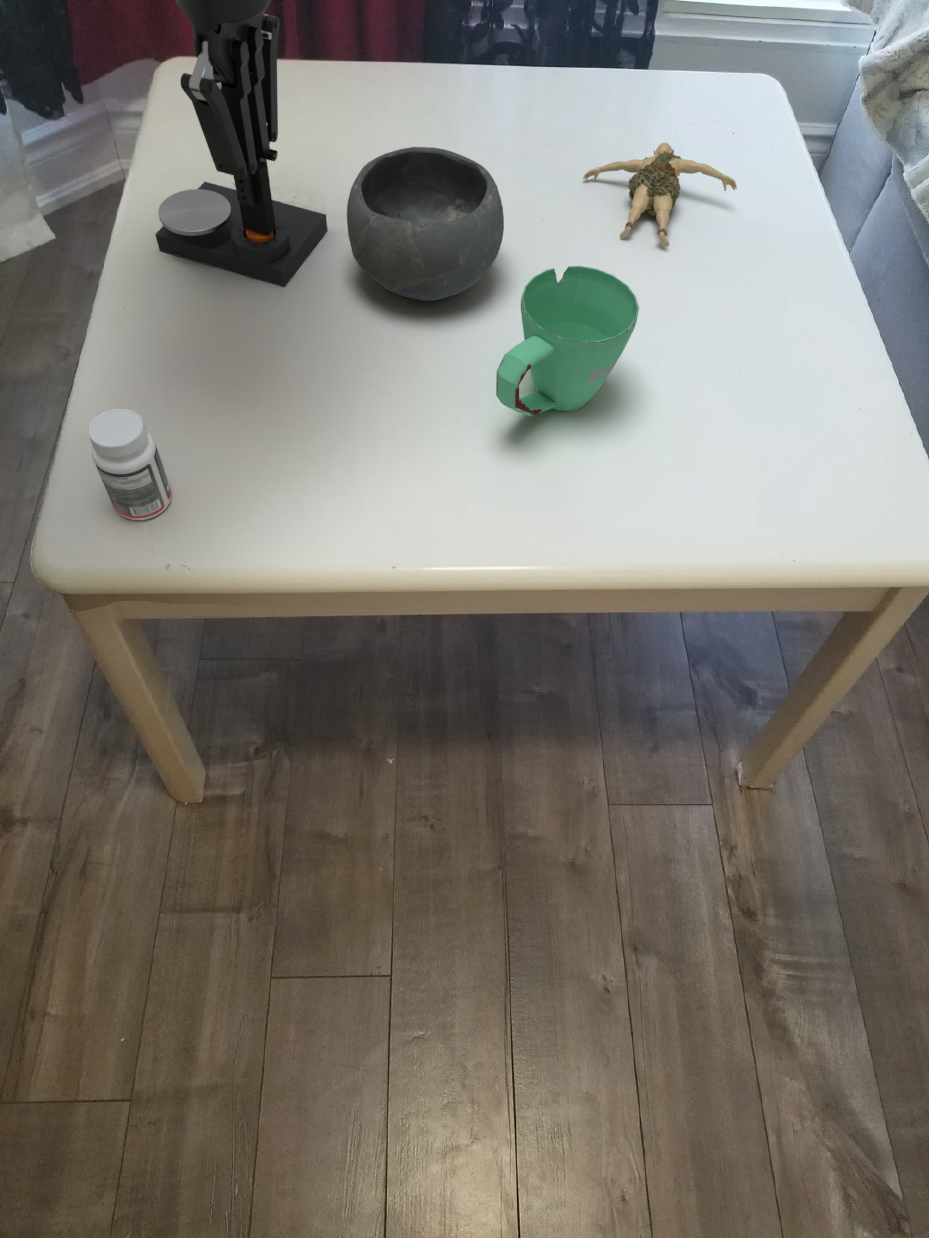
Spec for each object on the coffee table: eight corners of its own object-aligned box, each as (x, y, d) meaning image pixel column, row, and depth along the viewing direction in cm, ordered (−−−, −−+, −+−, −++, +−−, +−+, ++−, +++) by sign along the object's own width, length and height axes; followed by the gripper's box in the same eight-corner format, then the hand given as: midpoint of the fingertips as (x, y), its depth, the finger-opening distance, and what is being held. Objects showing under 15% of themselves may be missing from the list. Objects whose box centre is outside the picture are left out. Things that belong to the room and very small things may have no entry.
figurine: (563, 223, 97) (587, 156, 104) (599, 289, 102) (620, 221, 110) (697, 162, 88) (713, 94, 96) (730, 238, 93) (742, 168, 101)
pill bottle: (131, 471, 76) (103, 397, 69) (182, 486, 76) (159, 413, 69) (101, 513, 74) (69, 439, 67) (154, 528, 73) (127, 456, 66)
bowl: (481, 338, 88) (489, 246, 79) (332, 310, 89) (323, 216, 80) (511, 247, 96) (520, 154, 87) (373, 222, 97) (370, 128, 88)
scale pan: (161, 239, 88) (160, 234, 87) (157, 197, 92) (155, 192, 91) (235, 232, 89) (234, 227, 89) (227, 190, 93) (227, 186, 92)
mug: (553, 341, 88) (568, 250, 79) (637, 391, 85) (662, 301, 76) (454, 422, 81) (459, 332, 73) (541, 479, 78) (557, 391, 70)
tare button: (279, 240, 91) (277, 226, 90) (267, 255, 89) (265, 240, 88) (255, 233, 91) (253, 219, 90) (243, 248, 90) (241, 234, 89)
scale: (327, 231, 96) (325, 200, 93) (283, 288, 90) (279, 257, 87) (207, 198, 98) (201, 166, 95) (158, 252, 92) (149, 221, 89)
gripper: (218, -7, 65) (263, 276, 85) (298, -77, 72) (323, 201, 92) (125, -29, 66) (191, 256, 86) (213, -95, 73) (255, 183, 93)
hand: (259, 227), depth 89 cm, fingers closed
